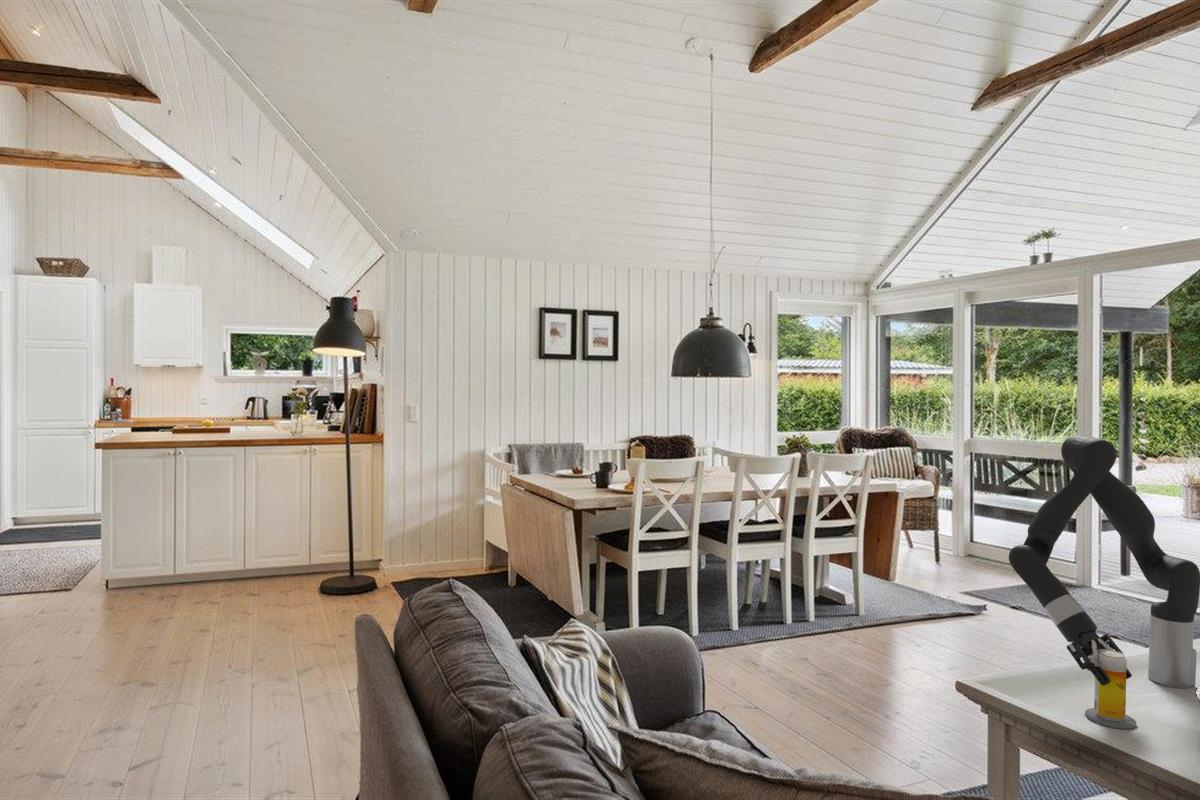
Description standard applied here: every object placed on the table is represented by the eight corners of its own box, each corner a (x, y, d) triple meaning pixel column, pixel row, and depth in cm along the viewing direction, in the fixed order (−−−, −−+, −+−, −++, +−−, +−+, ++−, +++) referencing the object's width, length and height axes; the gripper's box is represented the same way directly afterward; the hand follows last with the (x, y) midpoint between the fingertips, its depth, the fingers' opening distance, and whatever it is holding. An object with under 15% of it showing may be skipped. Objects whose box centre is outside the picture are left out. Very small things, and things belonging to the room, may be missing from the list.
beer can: (1130, 723, 174) (1131, 658, 174) (1100, 720, 176) (1102, 656, 175) (1117, 712, 180) (1119, 649, 180) (1089, 710, 182) (1091, 647, 181)
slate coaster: (1118, 711, 183) (1118, 708, 183) (1146, 730, 173) (1146, 727, 173) (1075, 709, 183) (1075, 707, 183) (1101, 728, 173) (1101, 726, 173)
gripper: (1063, 614, 181) (1112, 679, 171) (1098, 606, 187) (1148, 669, 177) (1041, 629, 185) (1087, 693, 176) (1076, 621, 192) (1122, 683, 182)
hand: (1117, 681), depth 176 cm, fingers open, 8 cm apart
